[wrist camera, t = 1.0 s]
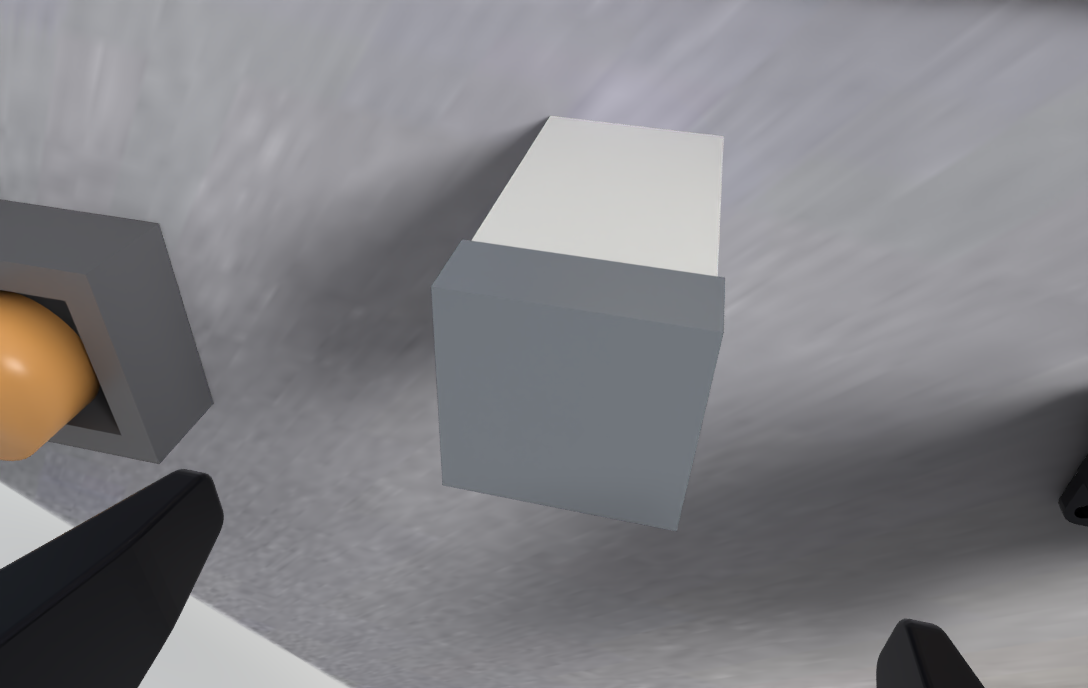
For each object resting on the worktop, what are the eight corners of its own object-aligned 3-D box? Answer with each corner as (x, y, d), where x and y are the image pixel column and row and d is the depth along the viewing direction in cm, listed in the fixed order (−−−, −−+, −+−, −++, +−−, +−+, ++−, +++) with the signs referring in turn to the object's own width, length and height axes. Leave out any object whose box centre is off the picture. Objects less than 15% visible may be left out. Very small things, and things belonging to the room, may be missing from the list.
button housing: (158, 223, 21) (86, 274, 19) (213, 403, 25) (159, 464, 23) (-47, 192, 22) (-141, 237, 20) (38, 370, 26) (-31, 425, 24)
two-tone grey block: (728, 132, 16) (723, 332, 10) (697, 290, 19) (676, 531, 12) (546, 110, 17) (431, 286, 10) (538, 267, 19) (442, 485, 13)
